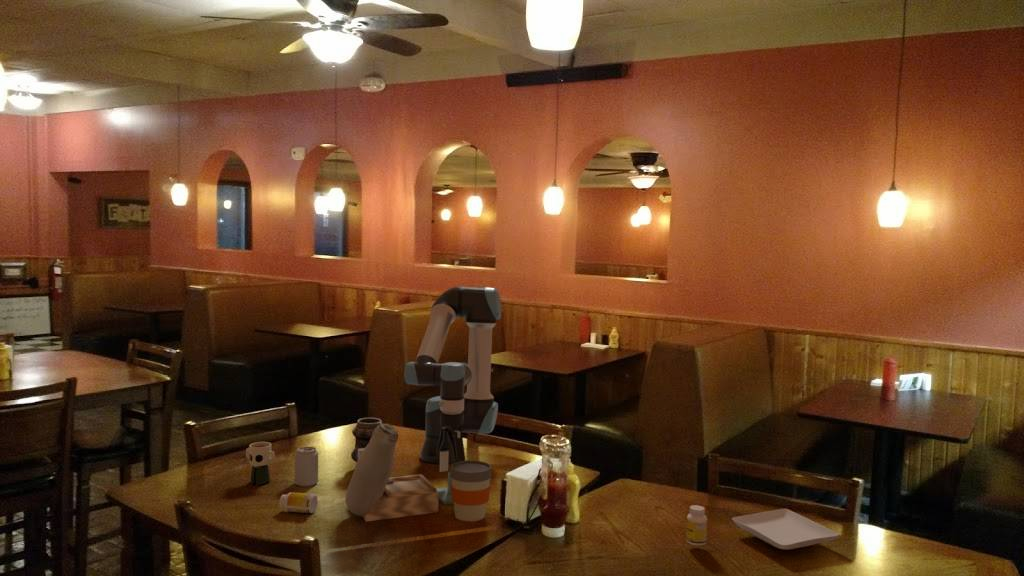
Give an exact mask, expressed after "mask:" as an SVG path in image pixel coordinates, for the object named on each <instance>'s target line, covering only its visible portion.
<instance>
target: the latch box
mask: <svg viewBox="0 0 1024 576" xmlns="http://www.w3.org/2000/svg"><path fill="white" fill-rule="evenodd" d="M389 479H392V480H393V484H389V485H386V488H385V490H384V493H383V495H382V498H380V499H379V500H378V501H377V503H376V505H375V506H374V508H373V510H372V511H371V512H370V513H368V514H366V515H365V516H361V517H362V518H363V520H364V521H365V522H373V521H374V522H375V521H381V520H389V519H396V518H403V517H405V518H406V517H411V516H418V515H425V514H433V513H435V514H436V513H439V498H438V495H439V493H438V492H437V491H436V487H435V486H434V485H433V484H432V483H431V482H430V481H429V480H428V479H427V478H426V477H425V476H424V475H423V473H422V474H412V475H402V476H395V477H389Z"/></svg>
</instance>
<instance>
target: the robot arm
mask: <svg viewBox="0 0 1024 576" xmlns="http://www.w3.org/2000/svg"><path fill="white" fill-rule="evenodd" d="M502 312H503V311H502V299H501V295H500V292H499V290H498V289H497V288H495V287H488V286H461V285H459V286H458V285H457V286H454V287H450V288H448V289H447V290H445V291H444V292H443V293H441V294H440V295H439V296H438V297H437V298H436V299H435V301H434V302H433V304H432V305H431V309H430V313H429V314H430V319H429V323H428V324H427V328H426V330H425V332H424V333H425V334H424V336H423V338H422V341H421V344H420V347H419V350H418V352H417V354H416V355H417V356H416V358H415V361H409V362H407V363H405V366H404V373H403V377H404V381H405V383H406V384H408V385H413V386H428V387H429V386H431V387H440V395H437V396H433V397H431V398H428V400H427V401H426V405H425V411H424V412H425V413H424V414H425V436H424V437H425V438H424V440H423V442H422V443H423V444H422V446H421V449H420V455H419V456H420V458H421V459H420V460H421V461H423V462H425V463H430V464H437V465H438V464H439V472H440V473H441V472H448V471H449V464H450V463H451V464H454V463H456V462H459V461H467V460H466V453H465V446H464V440H463V439H464V437H463V435H464V433H468V434H469V433H470V434H471V433H472V434H479V435H481V434H490V433H492V432H493V430H494V428H495V426H496V421H497V418H498V412H499V403H498V402H496V401H494V400H495V397H494V395H493V394H492V393H491V373H492V372H491V371H492V369H491V368H492V346H493V328H494V327H496V325H497V321H498V320H500V319H502ZM457 318H461V319H462V318H464V319H465V325H467V326H468V328H469V333H468V354H467V355H468V356H467V357H468V359H467V363H465V362H456V361H455V362H453V361H450V362H444V363H440V362H439V360H440V358H441V354H442V351H443V349H444V346H445V343H446V340H447V337H448V333H449V330H450V328H451V325H452V324H453V323H454V322H455V320H456V319H457ZM465 387H466V392H465Z"/></svg>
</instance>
